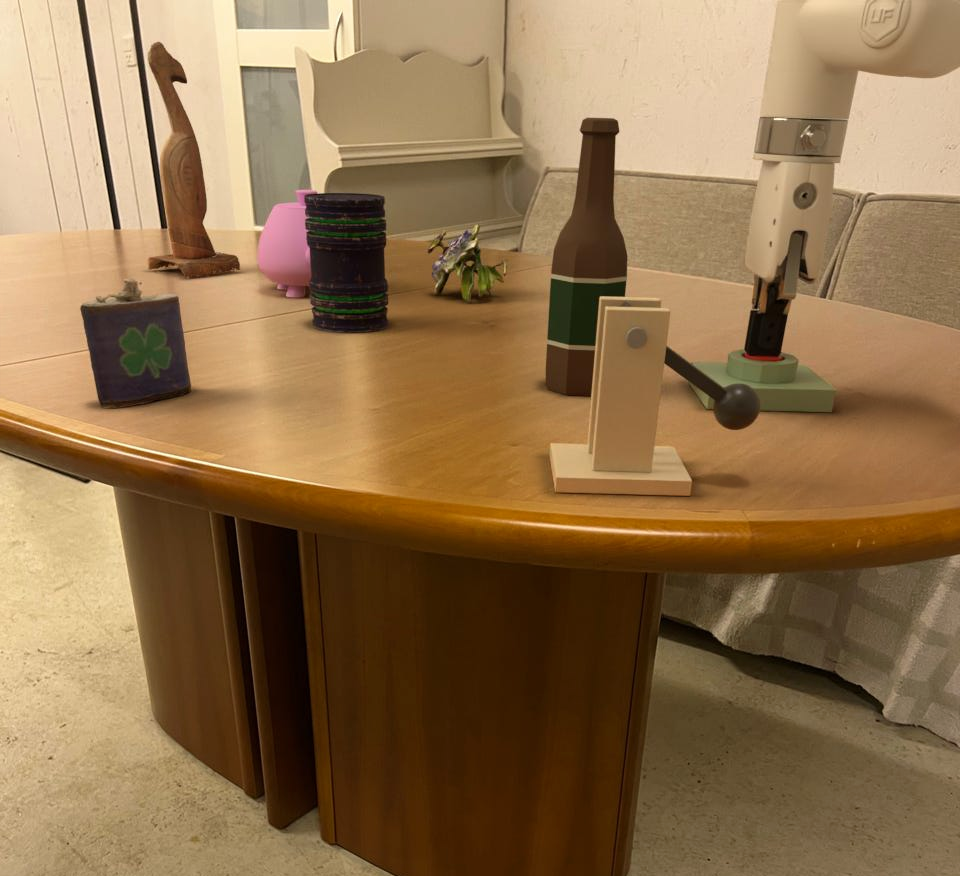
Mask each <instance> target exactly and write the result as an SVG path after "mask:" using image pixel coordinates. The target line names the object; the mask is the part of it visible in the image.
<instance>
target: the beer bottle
mask: <svg viewBox="0 0 960 876" xmlns="http://www.w3.org/2000/svg"><path fill="white" fill-rule="evenodd" d="M580 124H581V125H580V127H579V132H580V133H581V134H582V138H581V144H580V145H581V147H580V154H579V163H578V169H577V170H578V172H577V180H576V187H575V194H574V195H575V197H574V200H573V205H572V210H571V214H570V216H569V218H568V219H567V221H566V223H565V224H564V226H563V227H562V229H561V230H560V231H559V235H558V237H557V240H556V242H555V245H554V248H553V253H552V260H551V271H550V285H549V286H550V287H549V303H548V304H549V305H548V322H547V323H548V324H547V339H546V353H545V355H546V356H545V387H546V389H547V390H549V391H552V392H555V393H558V394H562V395H565V396H582V397H591V394H592V382H593V370H594V358H595V346H596V334H597V322H598V310H599V298H600V297H601V296H607V297H626V290H627V279H628V252H627V247H626V241H625V238H624V235H623V233H622V231H621V228H620V226H619V224H618V222H617V220H616V217H615V215H616V214H615V201H614V200H615V199H614V198H615V197H614V196H615V172H616V171H615V169H616V142H617V141H616V140H617V139H616V138H617V135H618V134H619V133H620V126H619V121H618V120H617V119H616V118H613V117H586V118H585V117H584V119H582V121H581V123H580Z"/></svg>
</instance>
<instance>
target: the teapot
mask: <svg viewBox="0 0 960 876" xmlns="http://www.w3.org/2000/svg"><path fill="white" fill-rule="evenodd" d="M294 193H295V196H296V198H297V200H298V201H297V202H281V203H277V204H275V205H274V206H273V208H272V210H271V212H270V214H269V215H268V217H267V219H266V221H265V224H264V226H263V228H262V231H261V233H260V237H259V240H258V246H257V257H256V258H257V259H256V261H257V266H258V268H259V270H260V271H261V272H262V273H263V275H264V276H265V277H266V278H267V279H268V281H270V282H271V283H275V284H278V285H277V286H276V287H277V288H276V289H278V290H283V291H284V290H285V291H286V293H285V297H288V298H302V297H305V296H306V287H309V285H310V284H309V281H310V279H311V263H310V248H309V246H308V245H307V240H306V238H307V236H306V232H308V231H309V230H306V229H305V227H306V226H305V219H307V218H309V217H306V216H305V209H306V204H305V200H304V196H305V195H308V194H318V191H317V190H314V189H297V190H295V192H294Z"/></svg>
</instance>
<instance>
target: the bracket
mask: <svg viewBox="0 0 960 876" xmlns="http://www.w3.org/2000/svg"><path fill="white" fill-rule="evenodd" d="M624 301H626V302H627V303H628V304H630V305H631V306H632V307H621V305H622V304H623V302H624ZM670 319H671V310H670V308H668V307H662V299H661V298H659V297H643V296H642V297H637V296H625V297H607V296H601V297H600V298H599V310H598V322H597V334H596V346H595V358H594V370H593V382H592V394H591V396H590V408H589V417H588V418H589V419H588V430H587V431H588V432H587V441H586V443H560V442H559V443H557V442H551V443H550V445H549V449H550V450H549V461H550V468H551V474H552V480H553V481H552V482H553V486H554V492H555V493H568V494H601V495H602V494H606V495H638V496H639V495H642V496H643V495H645V496H681V497H689V496H691V491H692V485H693V480H692V478H691V476H690V474H689V472H688V470H687V468H686V467H685V465H684V463H683V461H682V459H681V457H680V455H679V453H678V451H677V450H676V448H675V446H674V445H673V446H669V445H655V444H656V437H657V427H658V418H659V411H660V402H661V393H662V387H663V377H664V368H665V364H664V362H665V353H666V345H667V344H668V337H669V327H670ZM667 346H668V345H667Z"/></svg>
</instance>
